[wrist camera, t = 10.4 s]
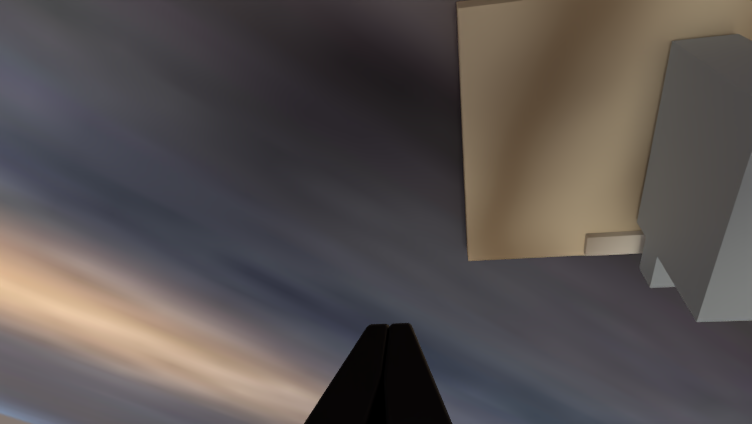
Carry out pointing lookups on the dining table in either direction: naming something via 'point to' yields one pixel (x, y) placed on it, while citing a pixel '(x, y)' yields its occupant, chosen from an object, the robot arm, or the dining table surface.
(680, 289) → the grey rectangular block
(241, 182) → the dining table surface
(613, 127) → the gauge board
